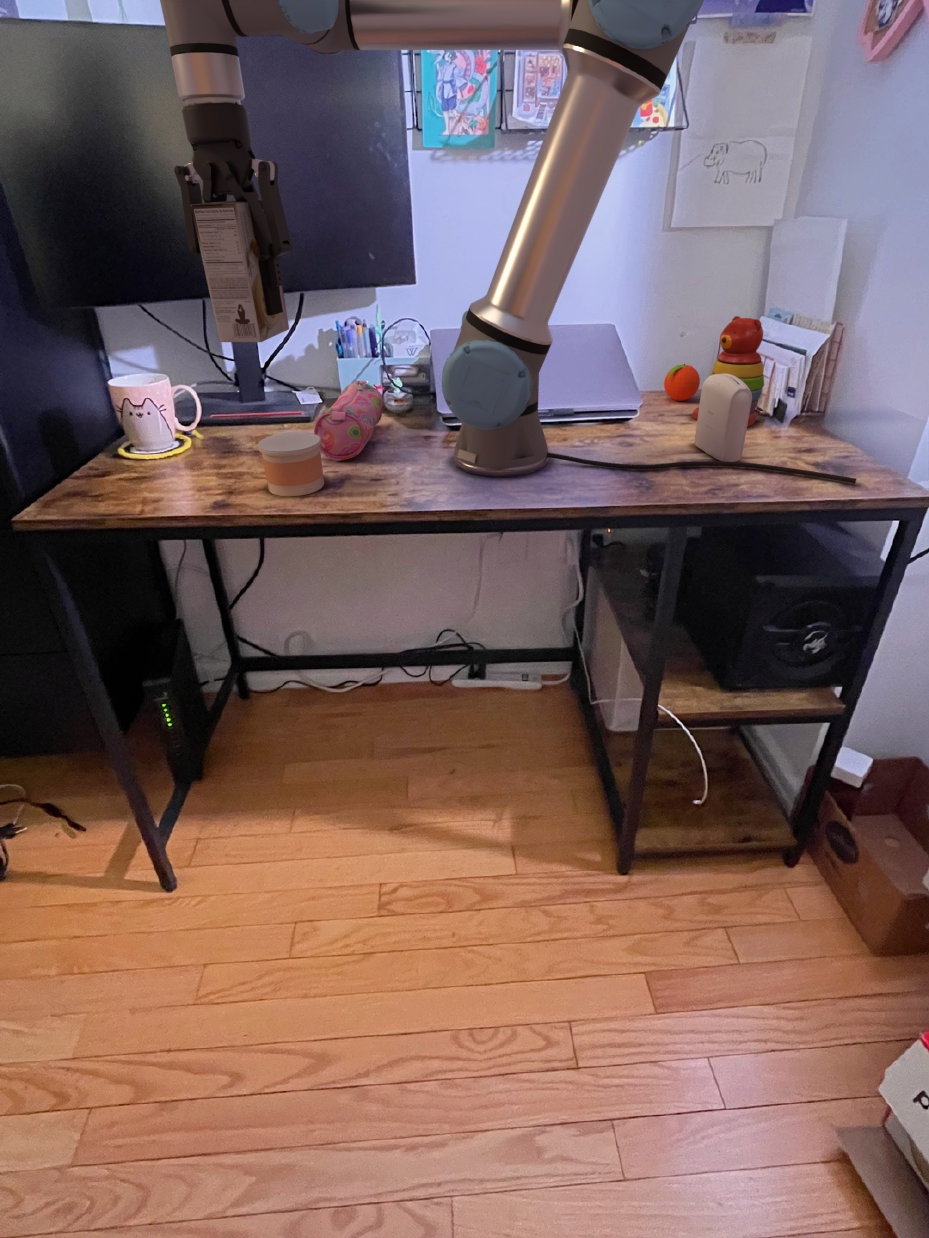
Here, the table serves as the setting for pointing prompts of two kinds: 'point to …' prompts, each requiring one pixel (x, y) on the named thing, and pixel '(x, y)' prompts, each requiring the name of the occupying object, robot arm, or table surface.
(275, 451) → the yogurt pot
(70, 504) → the table surface
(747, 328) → the stacking bear
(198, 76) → the robot arm
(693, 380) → the clementine
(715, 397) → the photo printer
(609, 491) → the table surface
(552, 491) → the table surface
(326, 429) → the pencil case
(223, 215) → the coffee box
